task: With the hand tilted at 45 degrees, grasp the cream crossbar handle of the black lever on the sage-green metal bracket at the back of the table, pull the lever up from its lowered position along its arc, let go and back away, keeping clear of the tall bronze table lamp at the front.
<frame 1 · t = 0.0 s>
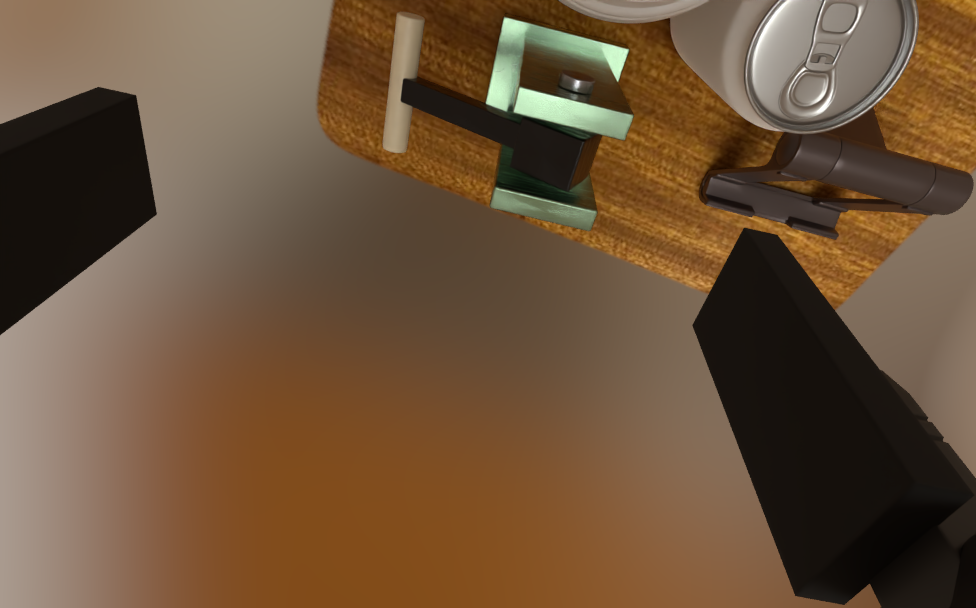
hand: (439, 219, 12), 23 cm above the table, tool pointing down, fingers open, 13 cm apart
lever: (483, 119, 24), point 9 cm above the table, hinge at -25.0°
can: (729, 9, 29), on the table
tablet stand: (789, 150, 33), on the table
bracket: (551, 84, 32), on the table
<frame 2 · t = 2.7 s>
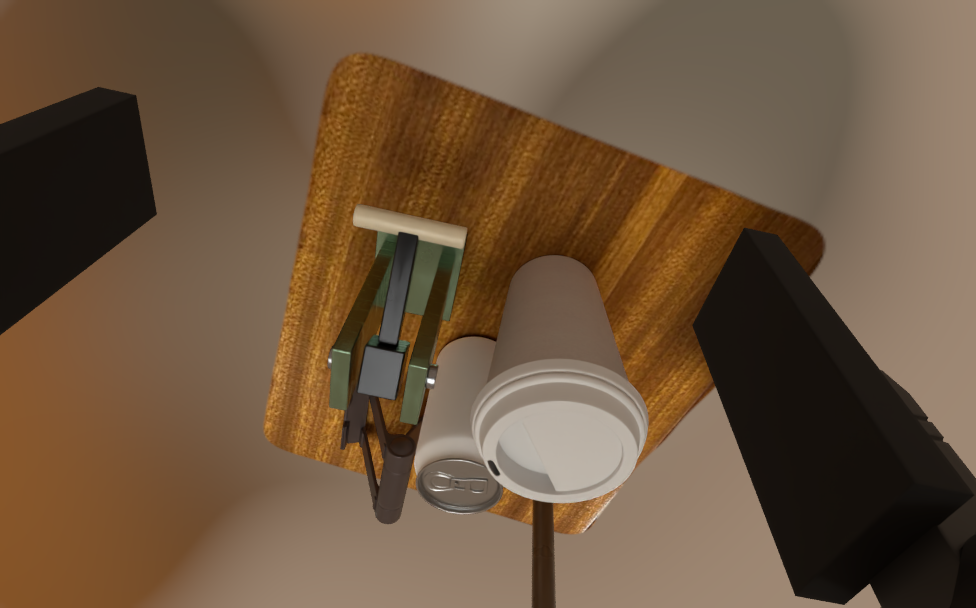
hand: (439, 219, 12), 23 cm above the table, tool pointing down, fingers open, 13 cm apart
lever: (395, 305, 30), point 9 cm above the table, hinge at -25.0°
can: (476, 362, 45), on the table
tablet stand: (393, 405, 49), on the table
coffee cup: (552, 291, 40), on the table
lamp: (542, 435, 49), on the table
bracket: (418, 265, 40), on the table
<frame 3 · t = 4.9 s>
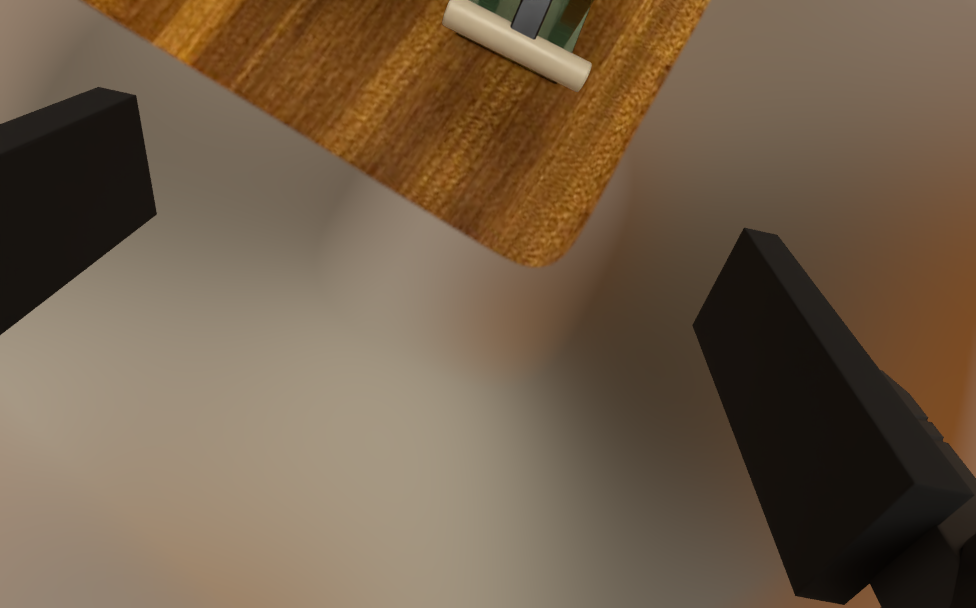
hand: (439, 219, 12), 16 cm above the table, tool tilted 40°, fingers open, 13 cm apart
bracket: (529, 4, 30), on the table
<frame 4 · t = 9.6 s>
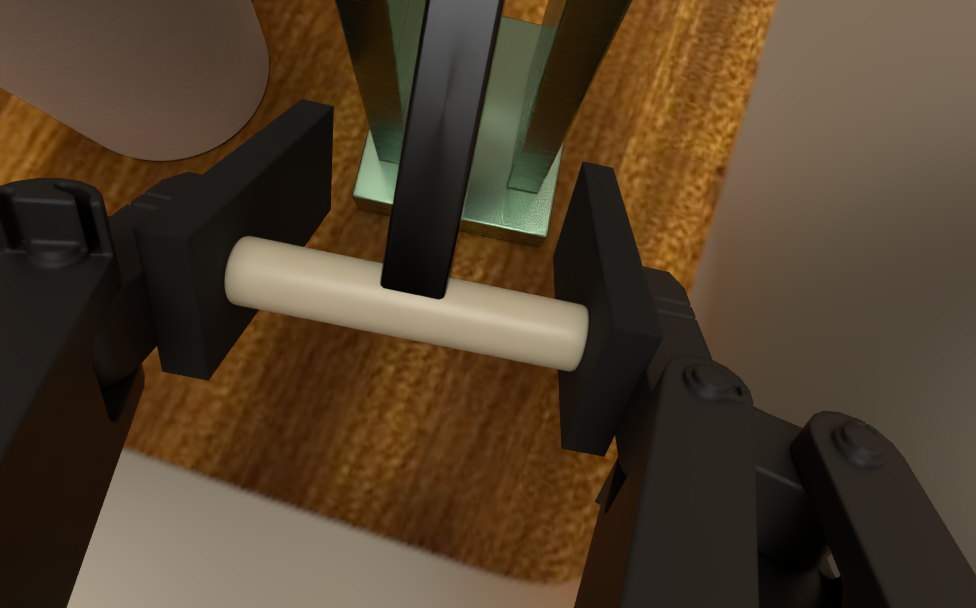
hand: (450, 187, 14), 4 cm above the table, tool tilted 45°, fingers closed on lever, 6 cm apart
lever: (461, 32, 8), point 9 cm above the table, hinge at -25.0°, touching gripper
coffee cup: (169, 70, 18), on the table
bracket: (470, 129, 18), on the table
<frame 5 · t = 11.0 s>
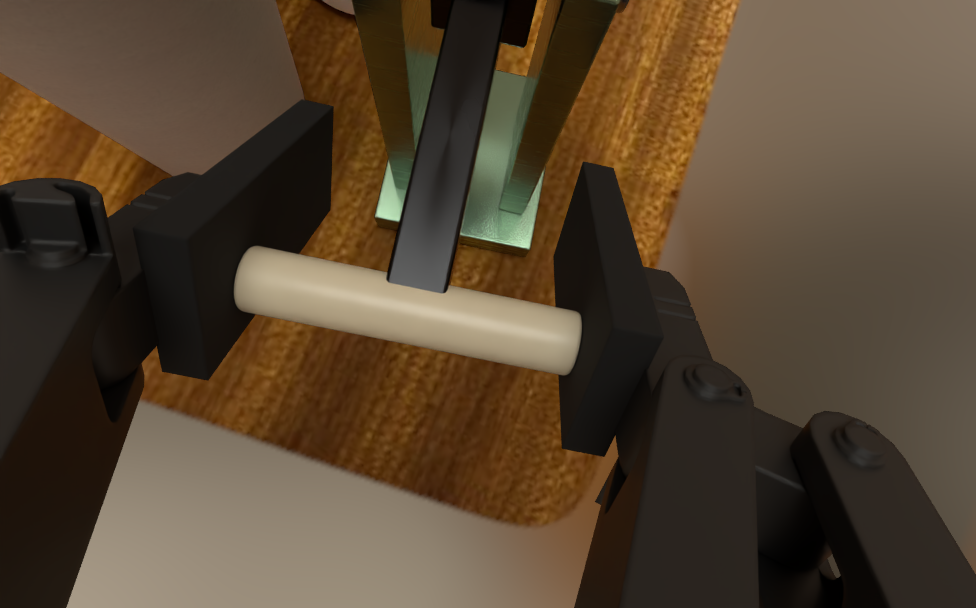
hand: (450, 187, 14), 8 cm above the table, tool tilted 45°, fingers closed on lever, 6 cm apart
lever: (460, 96, 11), point 11 cm above the table, hinge at 1.8°, touching gripper
coffee cup: (224, 113, 22), on the table
bracket: (469, 161, 22), on the table
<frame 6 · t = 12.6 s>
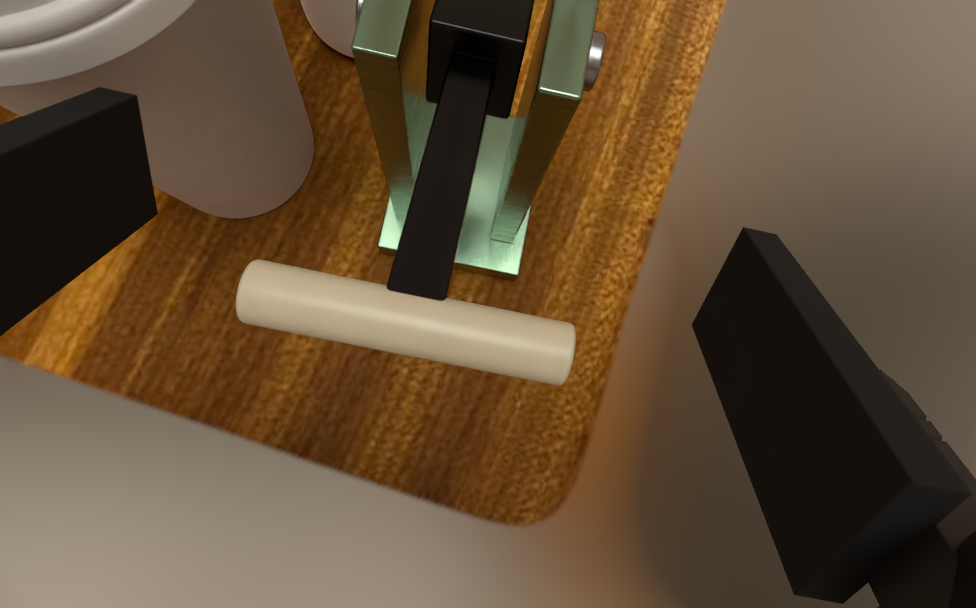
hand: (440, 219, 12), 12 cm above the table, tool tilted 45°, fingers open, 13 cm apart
lever: (454, 144, 12), point 12 cm above the table, hinge at 16.6°
can: (375, 6, 26), on the table
coffee cup: (240, 149, 24), on the table, touching gripper
bracket: (463, 192, 25), on the table
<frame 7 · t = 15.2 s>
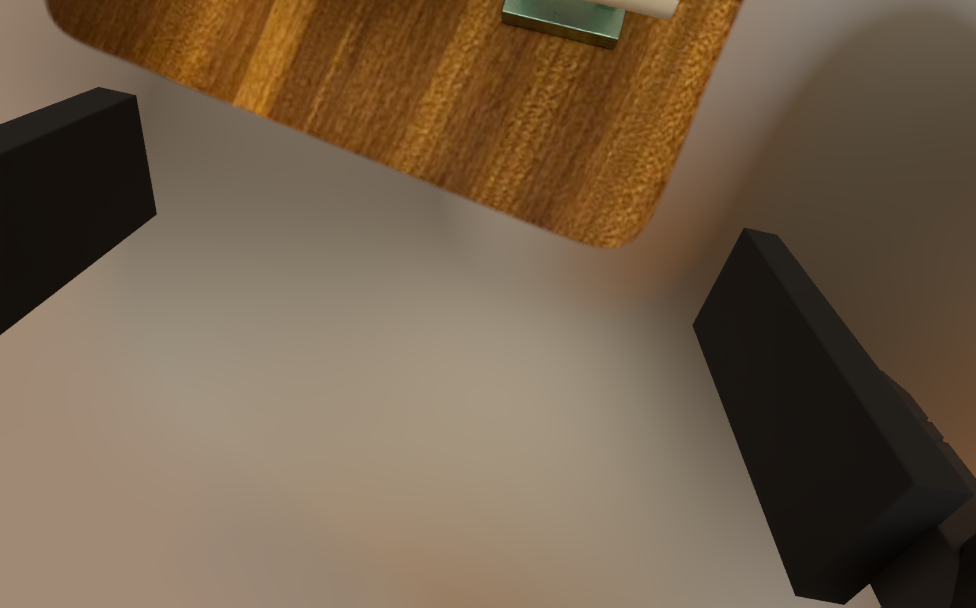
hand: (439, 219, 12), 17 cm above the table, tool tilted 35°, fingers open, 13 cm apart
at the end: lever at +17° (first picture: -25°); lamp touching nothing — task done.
